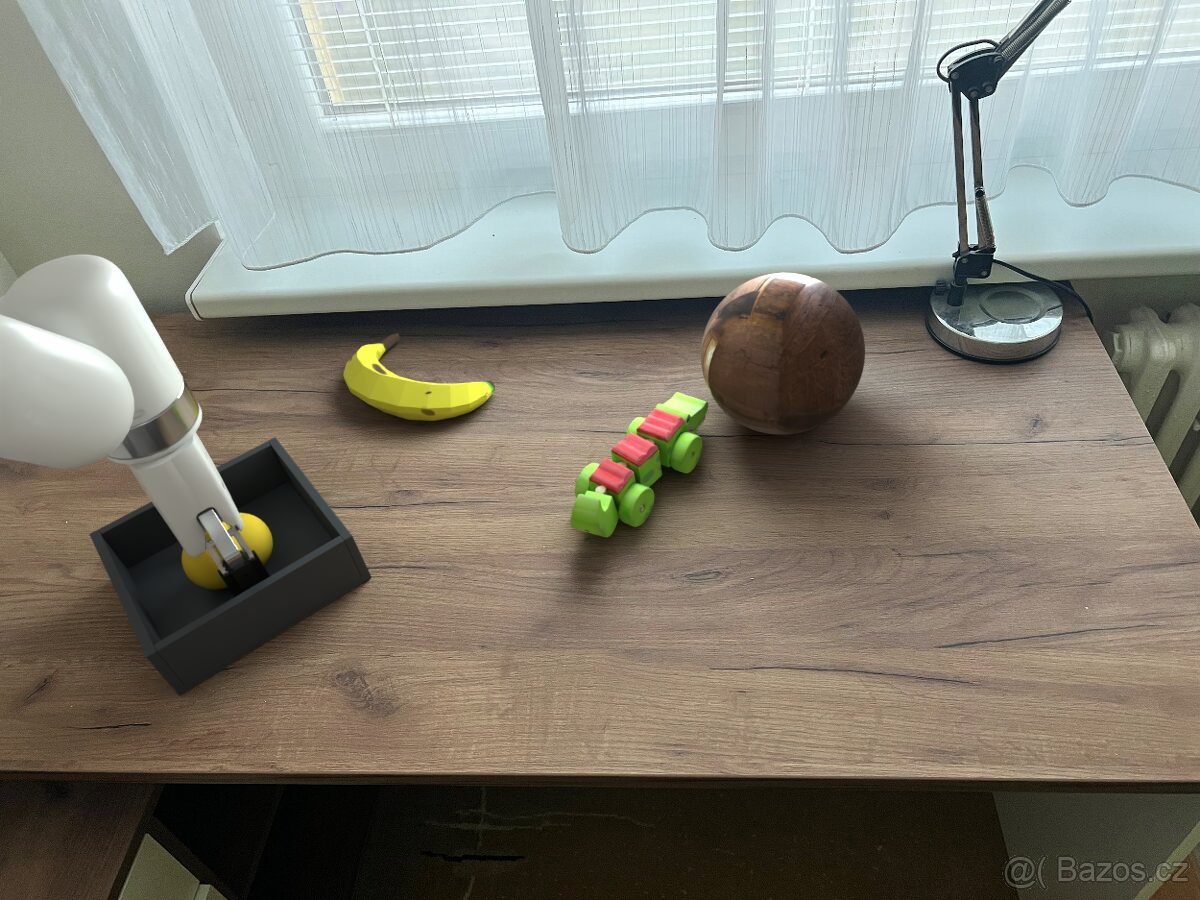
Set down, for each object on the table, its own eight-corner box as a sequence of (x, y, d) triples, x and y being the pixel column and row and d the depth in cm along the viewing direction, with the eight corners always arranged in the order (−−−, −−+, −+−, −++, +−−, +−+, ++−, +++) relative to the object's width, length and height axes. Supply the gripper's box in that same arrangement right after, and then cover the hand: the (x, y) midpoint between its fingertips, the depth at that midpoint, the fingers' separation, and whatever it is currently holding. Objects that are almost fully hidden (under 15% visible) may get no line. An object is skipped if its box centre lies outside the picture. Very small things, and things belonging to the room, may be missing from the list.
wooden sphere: (858, 371, 90) (876, 245, 80) (852, 475, 80) (871, 346, 70) (714, 360, 94) (713, 237, 83) (690, 458, 84) (686, 333, 73)
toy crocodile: (671, 409, 89) (668, 362, 85) (727, 432, 86) (728, 385, 82) (549, 535, 79) (539, 489, 74) (608, 567, 75) (601, 521, 71)
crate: (179, 696, 71) (146, 657, 66) (120, 574, 80) (88, 533, 76) (372, 577, 77) (352, 535, 73) (295, 478, 87) (275, 436, 83)
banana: (479, 397, 87) (514, 326, 99) (314, 384, 89) (368, 316, 101) (483, 435, 89) (517, 361, 101) (323, 421, 92) (374, 351, 104)
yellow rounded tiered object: (210, 613, 75) (182, 573, 71) (189, 574, 79) (161, 534, 75) (291, 565, 78) (269, 525, 74) (267, 530, 81) (244, 489, 78)
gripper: (63, 384, 69) (162, 524, 81) (127, 505, 59) (229, 644, 71) (156, 342, 72) (238, 483, 84) (232, 449, 61) (313, 593, 74)
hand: (234, 556), depth 77 cm, fingers open, 9 cm apart
